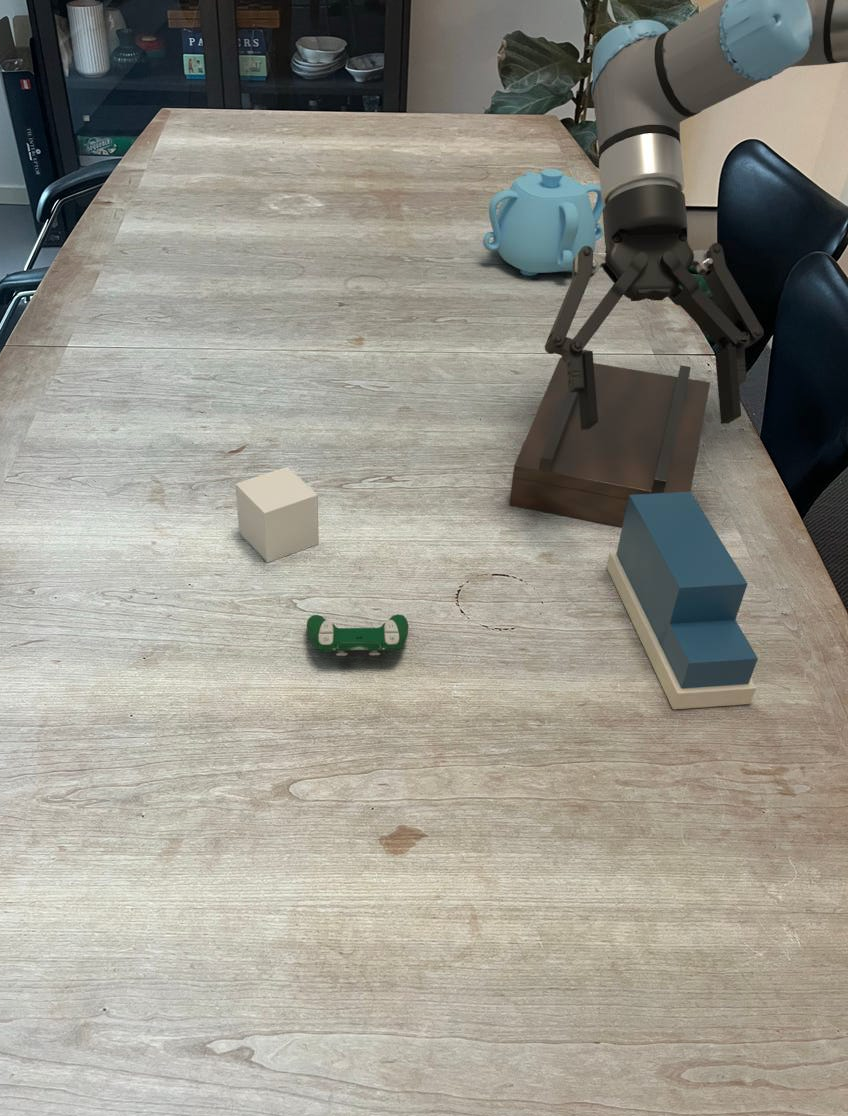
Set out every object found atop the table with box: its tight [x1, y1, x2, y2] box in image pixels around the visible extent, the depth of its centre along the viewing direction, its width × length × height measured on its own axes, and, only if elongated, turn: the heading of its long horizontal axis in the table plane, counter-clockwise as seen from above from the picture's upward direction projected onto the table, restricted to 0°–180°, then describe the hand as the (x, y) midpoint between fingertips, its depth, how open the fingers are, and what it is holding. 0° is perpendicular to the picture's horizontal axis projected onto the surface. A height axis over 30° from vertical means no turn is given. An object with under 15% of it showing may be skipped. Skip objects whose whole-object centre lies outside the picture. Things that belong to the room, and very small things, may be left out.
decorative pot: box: [482, 168, 605, 276], centre depth 157 cm, size 16×16×14 cm
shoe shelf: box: [508, 349, 711, 528], centre depth 116 cm, size 18×26×6 cm
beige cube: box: [234, 466, 320, 564], centre depth 104 cm, size 6×6×6 cm
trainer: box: [606, 491, 759, 710], centre depth 93 cm, size 20×7×9 cm, turn 7°
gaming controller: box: [306, 613, 409, 657], centre depth 93 cm, size 9×4×6 cm
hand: (660, 423), depth 96 cm, fingers open, 13 cm apart
